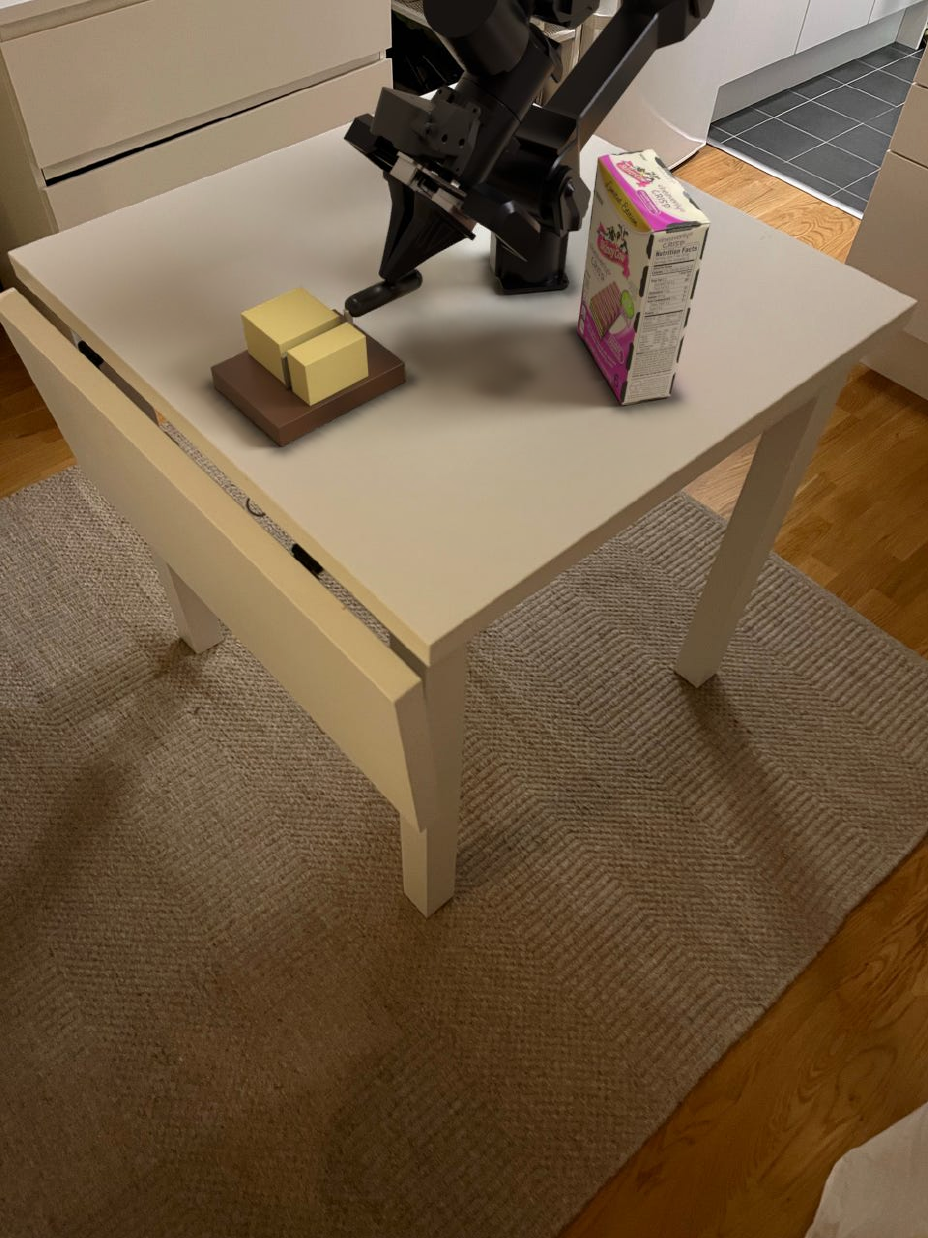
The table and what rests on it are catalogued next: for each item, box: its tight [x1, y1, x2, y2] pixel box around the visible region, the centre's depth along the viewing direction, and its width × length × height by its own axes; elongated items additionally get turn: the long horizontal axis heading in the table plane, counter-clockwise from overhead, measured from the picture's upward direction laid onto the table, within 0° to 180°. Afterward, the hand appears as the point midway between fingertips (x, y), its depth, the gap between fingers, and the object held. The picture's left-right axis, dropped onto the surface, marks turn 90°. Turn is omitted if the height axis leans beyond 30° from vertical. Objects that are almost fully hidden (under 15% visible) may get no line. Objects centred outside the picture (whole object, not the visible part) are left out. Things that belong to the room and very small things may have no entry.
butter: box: [240, 286, 368, 406], centre depth 80 cm, size 6×9×4 cm, turn 41°
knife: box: [281, 268, 424, 388], centre depth 80 cm, size 14×2×5 cm, turn 131°
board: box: [209, 308, 407, 448], centre depth 82 cm, size 13×10×2 cm
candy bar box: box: [576, 148, 712, 406], centre depth 79 cm, size 11×5×16 cm, turn 17°
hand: (384, 279), depth 79 cm, fingers closed, pressing on knife
